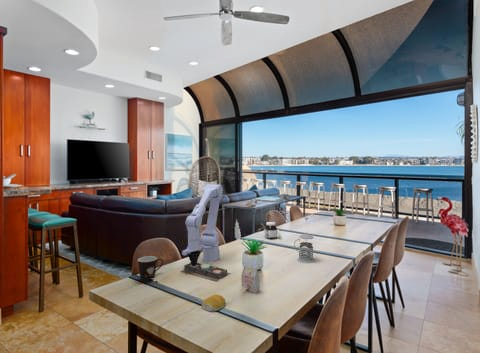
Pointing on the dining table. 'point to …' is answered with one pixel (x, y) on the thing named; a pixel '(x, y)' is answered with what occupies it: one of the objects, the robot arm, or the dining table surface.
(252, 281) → the tea bag
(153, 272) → the coffee mug
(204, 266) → the sage button
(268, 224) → the spread jar
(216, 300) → the bread roll
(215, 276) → the button panel
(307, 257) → the french press
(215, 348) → the dining table surface
